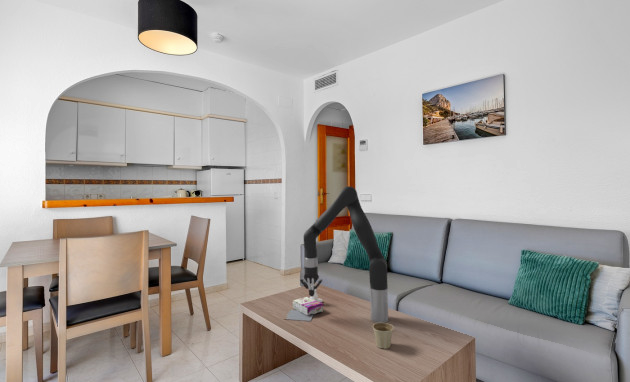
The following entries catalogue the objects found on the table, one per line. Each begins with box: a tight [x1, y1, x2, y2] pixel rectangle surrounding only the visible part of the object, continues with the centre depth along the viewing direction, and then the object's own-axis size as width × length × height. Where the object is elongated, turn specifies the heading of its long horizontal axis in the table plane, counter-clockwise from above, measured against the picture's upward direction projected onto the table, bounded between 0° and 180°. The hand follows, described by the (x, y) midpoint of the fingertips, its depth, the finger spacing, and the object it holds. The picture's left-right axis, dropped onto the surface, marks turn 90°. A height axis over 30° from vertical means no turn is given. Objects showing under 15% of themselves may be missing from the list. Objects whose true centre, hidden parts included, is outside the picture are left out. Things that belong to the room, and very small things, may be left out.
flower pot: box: [372, 322, 395, 350], centre depth 143 cm, size 9×9×9 cm
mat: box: [285, 309, 315, 322], centre depth 178 cm, size 15×13×1 cm
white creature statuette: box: [307, 284, 323, 303], centre depth 195 cm, size 10×9×12 cm
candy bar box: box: [292, 296, 324, 316], centre depth 185 cm, size 11×5×16 cm
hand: (311, 296), depth 177 cm, fingers closed
